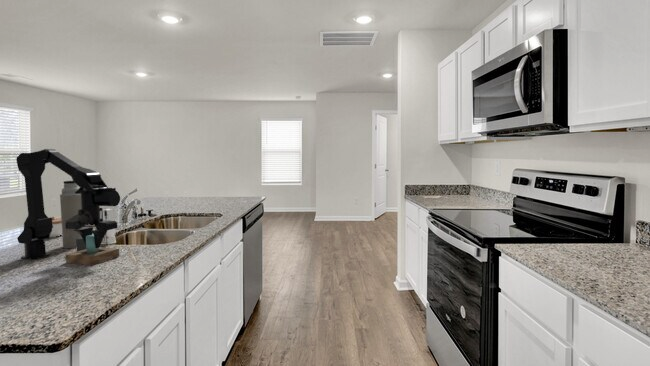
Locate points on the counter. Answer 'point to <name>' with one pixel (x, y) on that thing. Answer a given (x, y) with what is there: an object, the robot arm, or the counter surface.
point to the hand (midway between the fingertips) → (92, 247)
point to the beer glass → (110, 235)
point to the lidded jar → (56, 227)
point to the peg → (91, 245)
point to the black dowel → (80, 244)
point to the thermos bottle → (69, 212)
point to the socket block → (92, 256)
